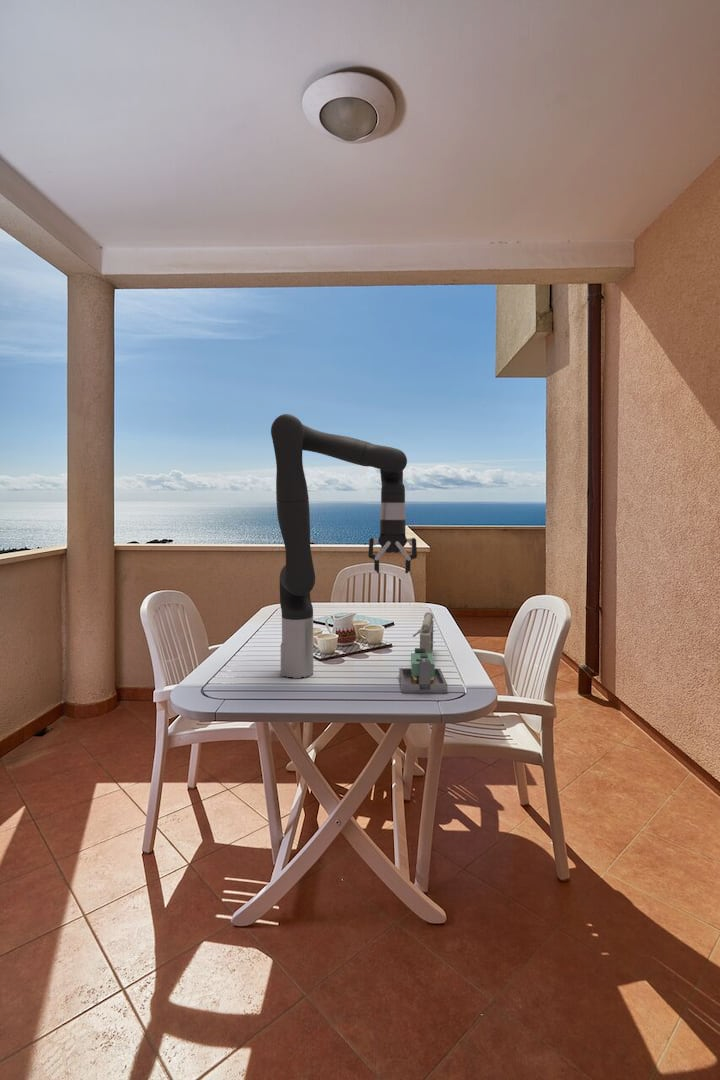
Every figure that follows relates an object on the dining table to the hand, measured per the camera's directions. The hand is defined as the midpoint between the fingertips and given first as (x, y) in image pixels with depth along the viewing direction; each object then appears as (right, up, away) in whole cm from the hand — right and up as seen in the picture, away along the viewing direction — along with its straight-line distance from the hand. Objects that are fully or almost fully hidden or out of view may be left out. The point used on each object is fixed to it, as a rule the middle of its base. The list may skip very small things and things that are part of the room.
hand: (392, 572), depth 149 cm
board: (+8, -27, -9) cm, 29 cm away
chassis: (+8, -31, -8) cm, 33 cm away
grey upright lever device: (+12, -29, +17) cm, 36 cm away
